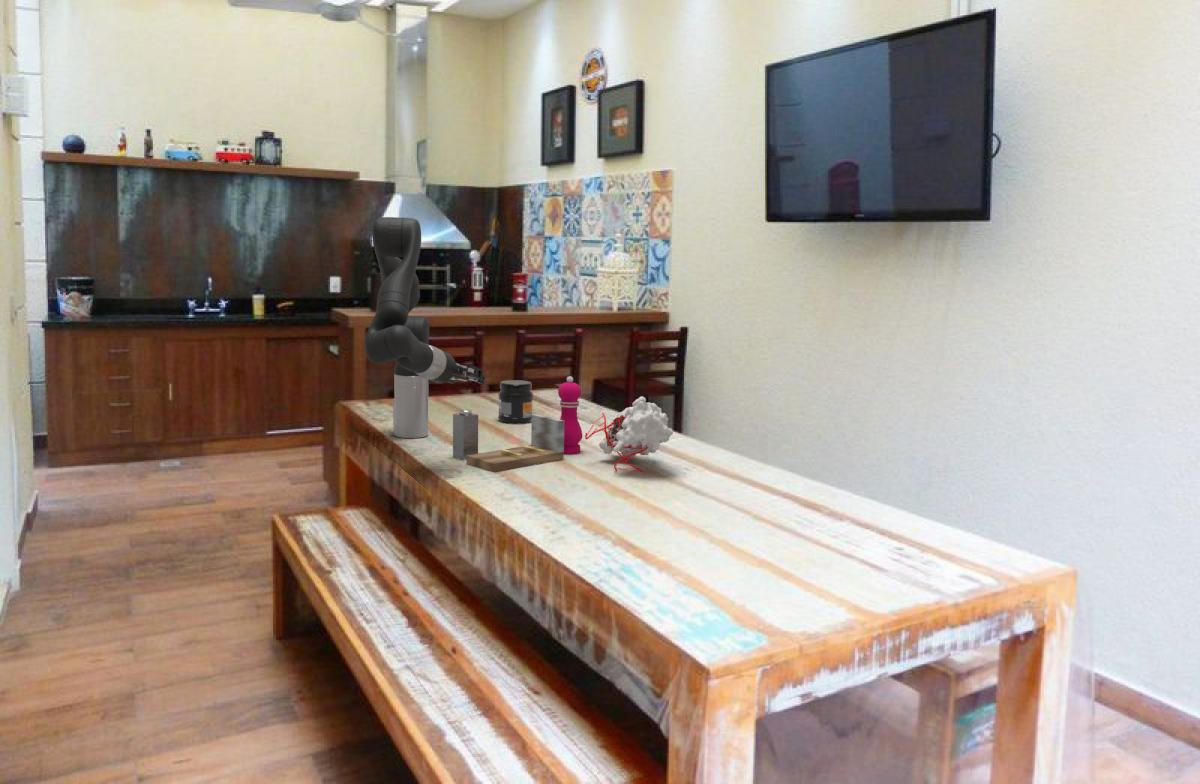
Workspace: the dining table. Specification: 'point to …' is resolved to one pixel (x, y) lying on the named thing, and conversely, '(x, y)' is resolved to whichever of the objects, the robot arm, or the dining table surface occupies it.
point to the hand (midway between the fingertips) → (468, 380)
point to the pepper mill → (570, 415)
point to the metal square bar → (465, 434)
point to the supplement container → (515, 401)
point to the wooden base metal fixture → (527, 448)
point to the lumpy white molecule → (635, 431)
